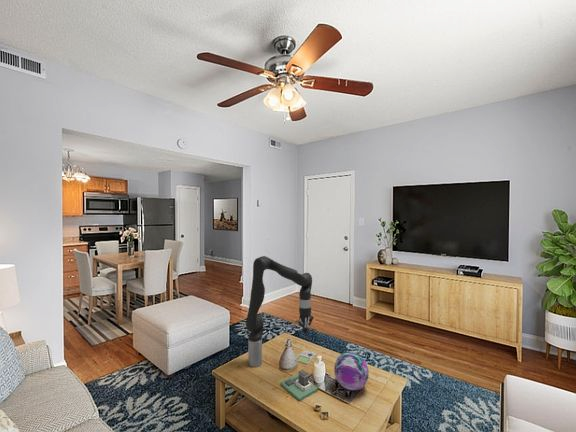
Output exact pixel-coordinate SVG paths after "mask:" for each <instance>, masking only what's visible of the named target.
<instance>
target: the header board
mask: <svg viewBox="0 0 576 432" xmlns="http://www.w3.org/2000/svg"><path fill="white" fill-rule="evenodd" d="M279 385H280V386H281V387H282V388H284V389H285V391H287V392H288V394H290V395H291V396H293V398H295V399H296V400H297V401H299V402H301V401H303V400H304V399H306V398H308V397H310V396H311V395H314V394H315V393H317V392H318V391H319V390H318V389H319V388H318V387H317V386H315V385H314V384H313V383H312V382H310V380H309V379H308V385H307V386H305V387H304V386H303V385H301V384H300V383H299V374H298V373H296V374H294V375H292V376H291V377H288V378H286V379H284V380H282V381H280V384H279Z"/></svg>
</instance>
